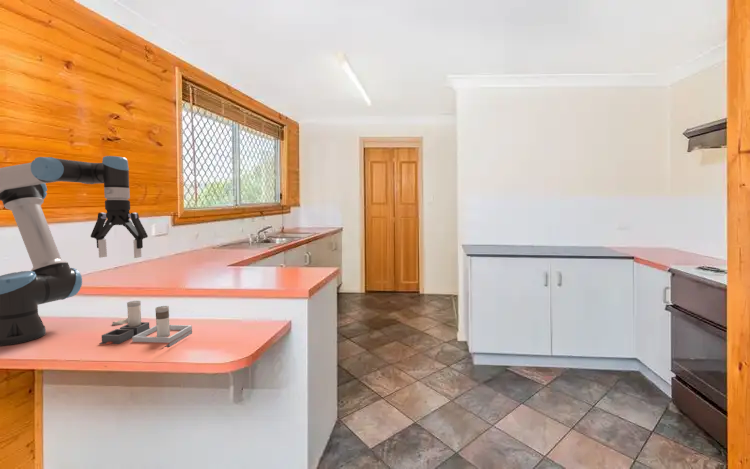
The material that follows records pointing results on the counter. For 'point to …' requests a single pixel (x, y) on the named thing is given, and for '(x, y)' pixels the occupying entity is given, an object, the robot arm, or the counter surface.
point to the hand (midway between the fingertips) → (120, 257)
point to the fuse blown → (162, 321)
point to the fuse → (134, 313)
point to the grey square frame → (183, 328)
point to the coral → (120, 322)
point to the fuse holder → (123, 333)
